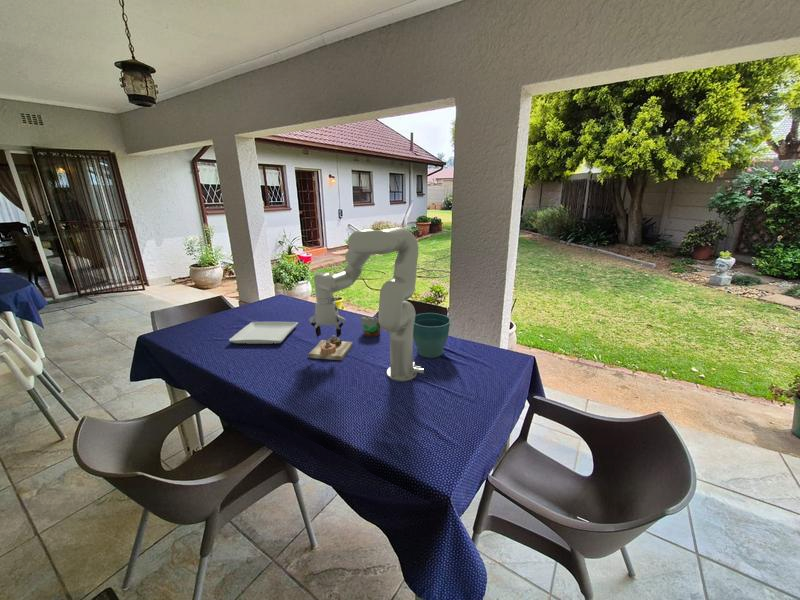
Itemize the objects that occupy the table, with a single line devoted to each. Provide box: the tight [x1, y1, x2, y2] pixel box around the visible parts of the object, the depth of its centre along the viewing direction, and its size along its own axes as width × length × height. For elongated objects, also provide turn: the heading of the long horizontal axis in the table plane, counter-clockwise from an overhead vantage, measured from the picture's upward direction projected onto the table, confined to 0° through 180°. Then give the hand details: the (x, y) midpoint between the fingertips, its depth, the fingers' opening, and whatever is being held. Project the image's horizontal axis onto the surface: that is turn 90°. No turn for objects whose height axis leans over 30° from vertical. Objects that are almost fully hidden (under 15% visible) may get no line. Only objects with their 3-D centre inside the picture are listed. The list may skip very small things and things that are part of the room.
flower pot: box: [413, 312, 451, 359], centre depth 158 cm, size 18×18×17 cm
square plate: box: [228, 321, 299, 345], centre depth 181 cm, size 27×27×4 cm
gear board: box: [308, 334, 353, 361], centre depth 161 cm, size 16×16×6 cm
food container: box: [360, 314, 381, 338], centre depth 179 cm, size 12×6×10 cm, turn 62°
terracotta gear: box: [321, 343, 336, 354], centre depth 158 cm, size 7×7×2 cm
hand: (328, 335), depth 155 cm, fingers open, 9 cm apart
